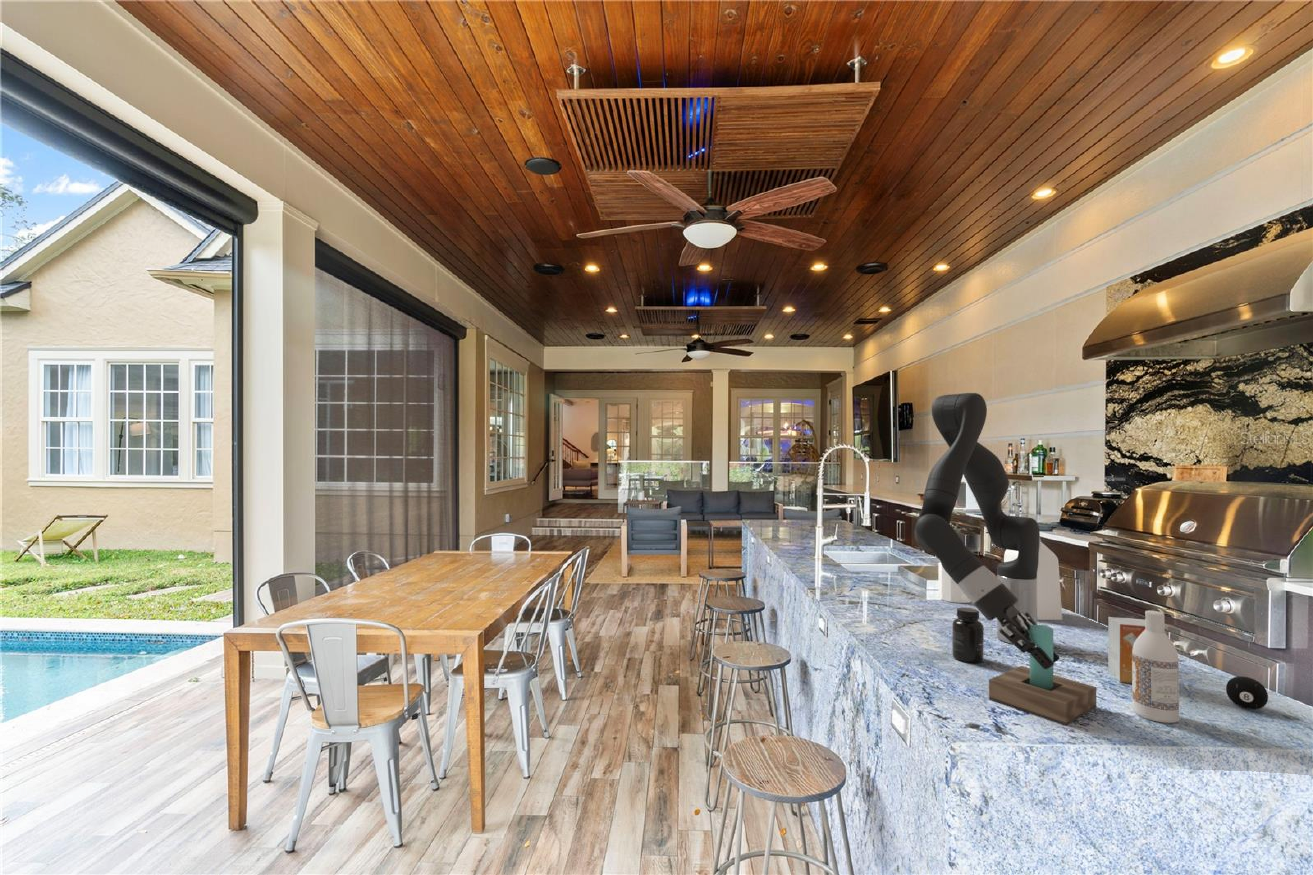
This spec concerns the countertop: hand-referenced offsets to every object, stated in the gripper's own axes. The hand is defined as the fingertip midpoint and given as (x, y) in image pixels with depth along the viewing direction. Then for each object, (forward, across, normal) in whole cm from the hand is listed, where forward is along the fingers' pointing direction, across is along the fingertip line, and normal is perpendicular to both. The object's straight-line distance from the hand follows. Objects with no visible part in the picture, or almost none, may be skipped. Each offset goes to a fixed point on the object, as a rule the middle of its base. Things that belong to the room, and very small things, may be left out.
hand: (1052, 663), depth 120 cm
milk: (-9, +74, +21) cm, 77 cm away
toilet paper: (-25, +76, +38) cm, 88 cm away
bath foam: (+17, +9, -4) cm, 20 cm away
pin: (+3, 0, +6) cm, 7 cm away
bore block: (+5, 0, +7) cm, 9 cm away
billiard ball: (+25, +27, -13) cm, 40 cm away
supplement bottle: (-9, +17, +21) cm, 28 cm away
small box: (+13, +30, -1) cm, 32 cm away
